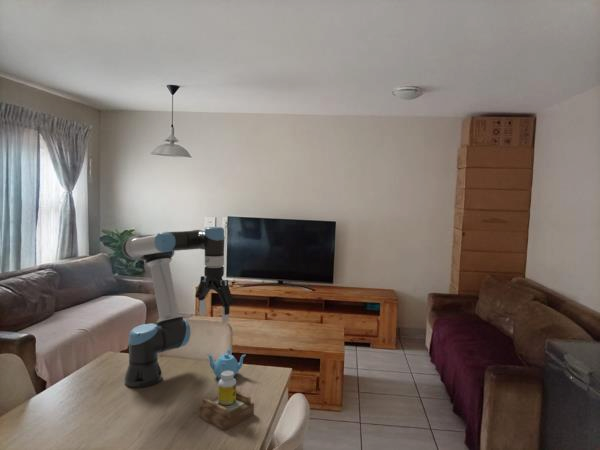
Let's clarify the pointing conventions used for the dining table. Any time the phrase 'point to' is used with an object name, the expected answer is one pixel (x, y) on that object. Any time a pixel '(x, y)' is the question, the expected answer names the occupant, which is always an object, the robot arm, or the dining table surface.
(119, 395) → the dining table surface
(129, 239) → the robot arm
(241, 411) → the wooden tray
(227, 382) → the pill bottle
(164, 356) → the dining table surface
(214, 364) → the teapot
